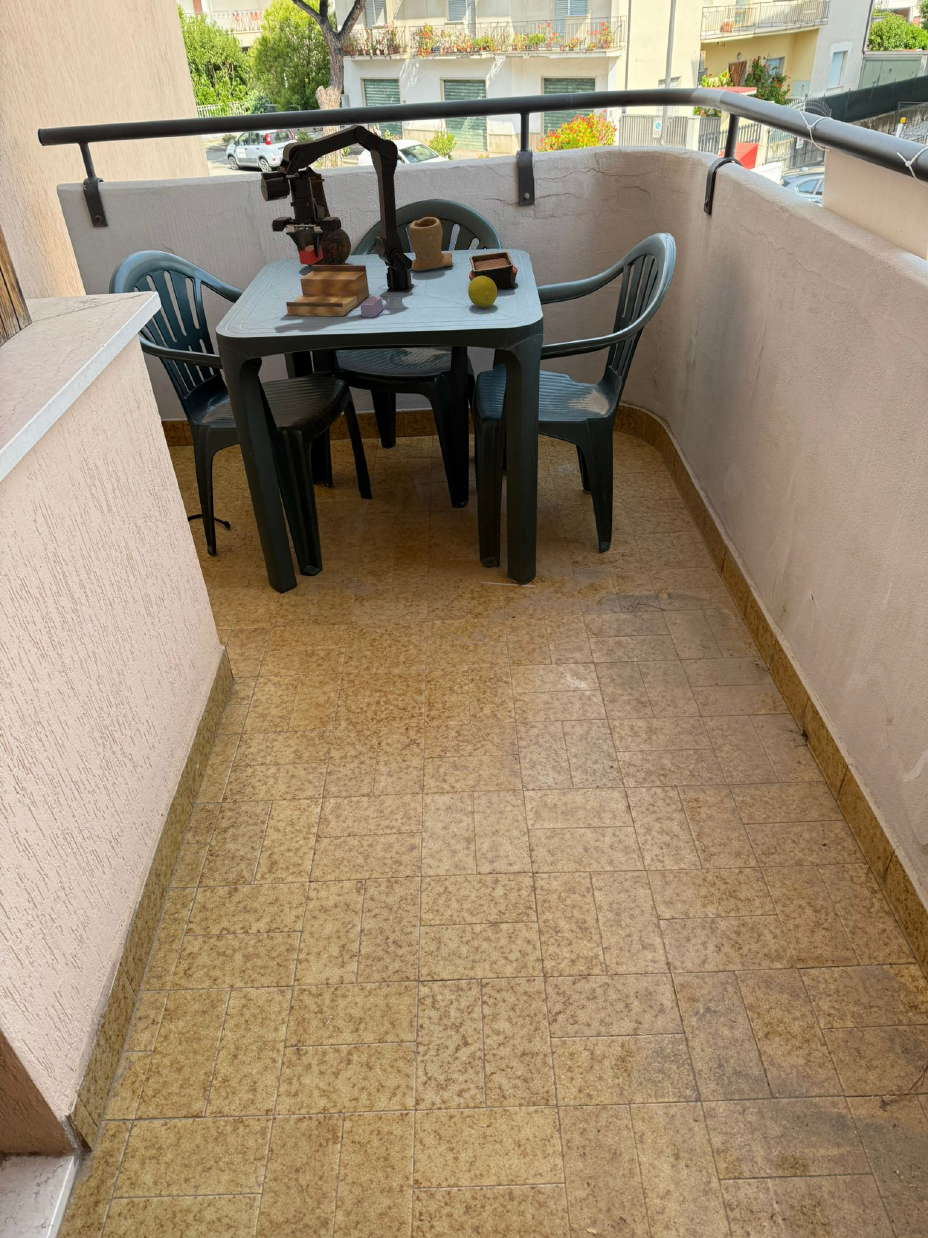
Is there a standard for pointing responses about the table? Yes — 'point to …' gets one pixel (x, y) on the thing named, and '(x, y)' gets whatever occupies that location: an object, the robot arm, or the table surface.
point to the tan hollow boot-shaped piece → (428, 244)
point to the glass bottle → (332, 243)
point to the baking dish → (494, 269)
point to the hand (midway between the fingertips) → (311, 257)
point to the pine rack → (331, 290)
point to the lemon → (482, 291)
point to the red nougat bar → (309, 255)
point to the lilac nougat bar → (371, 306)
